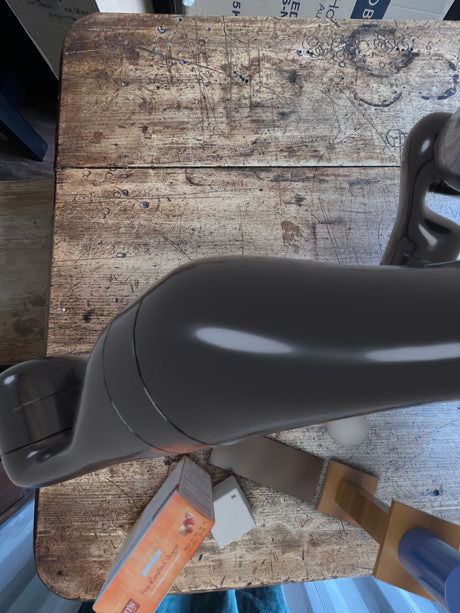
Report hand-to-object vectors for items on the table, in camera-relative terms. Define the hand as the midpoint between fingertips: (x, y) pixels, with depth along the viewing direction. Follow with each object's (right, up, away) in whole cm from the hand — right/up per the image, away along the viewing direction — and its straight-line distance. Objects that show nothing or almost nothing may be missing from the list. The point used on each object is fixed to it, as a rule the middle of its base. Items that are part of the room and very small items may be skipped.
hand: (356, 397), depth 53 cm
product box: (-19, -18, +7) cm, 27 cm away
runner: (-12, -12, +8) cm, 19 cm away
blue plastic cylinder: (+2, -13, -13) cm, 19 cm away
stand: (+1, -18, +8) cm, 19 cm away
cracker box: (-27, -18, +7) cm, 33 cm away
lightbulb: (-1, -6, +10) cm, 12 cm away
